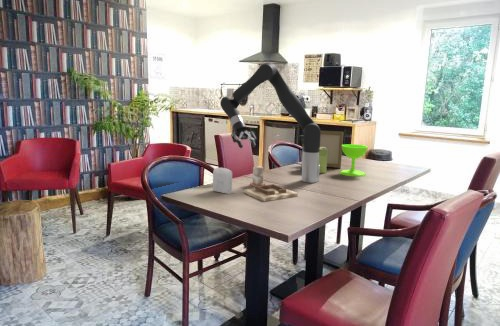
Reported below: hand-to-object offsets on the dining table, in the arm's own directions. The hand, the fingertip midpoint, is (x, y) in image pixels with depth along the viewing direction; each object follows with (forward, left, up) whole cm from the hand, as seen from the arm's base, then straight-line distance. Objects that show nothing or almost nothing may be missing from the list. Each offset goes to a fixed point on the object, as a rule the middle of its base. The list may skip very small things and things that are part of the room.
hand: (248, 147), depth 207 cm
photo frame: (-74, -14, -20) cm, 78 cm away
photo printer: (+24, +15, -20) cm, 34 cm away
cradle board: (+5, +30, -20) cm, 36 cm away
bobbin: (0, +11, -20) cm, 22 cm away
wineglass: (-71, +14, -20) cm, 75 cm away
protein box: (-54, -4, -20) cm, 58 cm away
